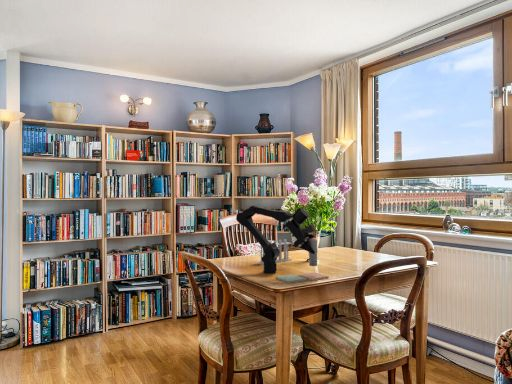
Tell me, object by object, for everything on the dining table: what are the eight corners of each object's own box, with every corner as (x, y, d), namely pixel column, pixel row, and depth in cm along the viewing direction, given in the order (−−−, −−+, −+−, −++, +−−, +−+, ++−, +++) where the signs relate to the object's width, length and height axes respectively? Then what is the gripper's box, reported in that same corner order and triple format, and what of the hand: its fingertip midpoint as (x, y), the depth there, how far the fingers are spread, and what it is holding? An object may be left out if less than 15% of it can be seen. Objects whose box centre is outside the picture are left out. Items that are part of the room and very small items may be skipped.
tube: (308, 265, 203) (308, 237, 202) (310, 264, 206) (310, 236, 206) (316, 266, 201) (316, 238, 201) (317, 264, 205) (317, 237, 205)
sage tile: (288, 283, 191) (288, 281, 191) (275, 278, 200) (275, 276, 200) (306, 280, 197) (306, 278, 197) (292, 276, 206) (292, 274, 206)
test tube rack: (286, 259, 256) (286, 238, 256) (291, 260, 253) (291, 239, 252) (257, 263, 240) (257, 242, 240) (262, 265, 237) (262, 242, 236)
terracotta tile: (312, 280, 196) (312, 278, 196) (298, 276, 206) (298, 274, 206) (328, 278, 202) (328, 276, 202) (314, 274, 211) (314, 272, 211)
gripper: (299, 221, 197) (320, 244, 192) (312, 218, 214) (332, 240, 209) (284, 235, 201) (305, 259, 196) (298, 232, 217) (317, 253, 212)
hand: (315, 252), depth 203 cm, fingers closed on tube, 4 cm apart
